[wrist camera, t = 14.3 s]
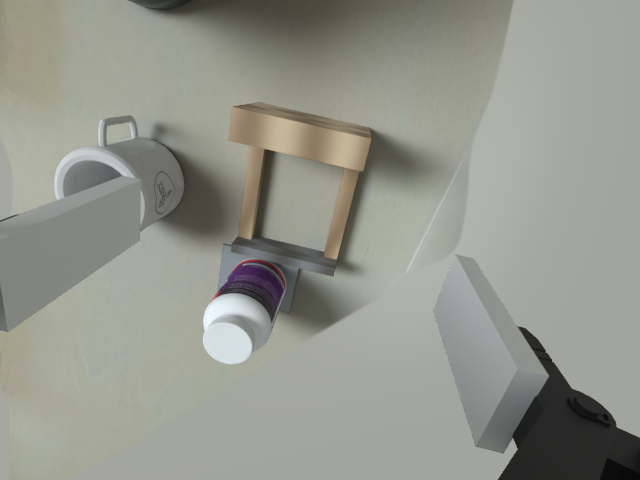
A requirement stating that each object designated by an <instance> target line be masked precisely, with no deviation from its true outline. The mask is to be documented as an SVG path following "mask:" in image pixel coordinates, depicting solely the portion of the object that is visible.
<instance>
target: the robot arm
mask: <svg viewBox="0 0 640 480" xmlns="http://www.w3.org/2000/svg"><path fill="white" fill-rule="evenodd" d="M129 1H131V2H134V3H136V4H139V5H142V6H145V7H148V8H154V9H169V8H174V7H178V6H180V5H183V4H185V3H187V2H188V1H190V0H129ZM140 206H141V180H139V179H135V178H131V177H126V176H121V177H118V178H115V179H113V180H110V181H108V182H105V183H102V184H100V185H97V186H94V187H92V188H89V189H86V190H84V191H81V192H78V193H76V194H73V195H70V196H68V197H65V198H62V199H60V200H57V201H54V202H52V203H49V204H46V205H44V206H41V207H38V208H36V209H33V210H30V211H28V212H25V213H22V214H19V215H14V216H11V217H8V218H6V219H3V220H1V221H0V330H1V331H5V332H9V331H10V330H11V329H13V328H14V327H16V326H17V325H19V324H20V323H22V322H23V321H24V320H26V319H27V318H29V317H30V316H32V315H33V314H35V313H36V312H37V311H39V310H40V309H42V308H43V307H45V306H46V305H47V304H49V303H50V302H52V301H53V300H55V299H56V298H58V297H59V296H60V295H62V294H63V293H65V292H66V291H68V290H69V289H71V288H72V287H73V286H75V285H76V284H78V283H79V282H81V281H82V280H84V279H85V278H86V277H88V276H89V275H91V274H92V273H94V272H95V271H96V270H98V269H99V268H101V267H102V266H104V265H105V264H107V263H108V262H109V261H111V260H112V259H114V258H115V257H117V256H118V255H120V254H121V253H122V252H124V251H125V250H127V249H128V248H130V247H131V246H132V245H134V244H135V243H137V242H138V241H140ZM433 312H434V315H435V318H436V321H437V325H438V328H439V331H440V334H441V338H442V341H443V344H444V347H445V350H446V353H447V356H448V360H449V363H450V366H451V370H452V373H453V376H454V379H455V382H456V385H457V389H458V392H459V395H460V399H461V402H462V405H463V408H464V411H465V415H466V418H467V421H468V424H469V427H470V430H471V434H472V437H473V440H474V443H475V446H476V447H480V448H484V449H488V450H492V451H496V452H500V453H504V452H505V450H506V448H507V446H508V445H509V443H510V441H511V440H512V438H513V439H514V441H515V443H516V445H517V448H518V450H517V451H516V453H515V454H514V456H513V458H512V459H511V460H510V462H509V464H508V465H507V467H506V468H505V470H504V471H503V473H502V474H501V476H500V477H499V479H498V480H640V438H639V437H637V436H635V435H632V434H630V433H628V432H626V431H623V430H621V429H619V428H617V427H616V421H615V420H614V419H613V417H612V415H611V414H610V413H609V412H608V411H607V410H606V409H605V408H604V407H603V406H602V405H601V404H600V403H598V402H597V401H595V400H594V399H593V398H591V397H589V396H587V395H585V394H583V393H582V392H579V391H576V390H573V389H572V388H571V387H570V385H569V384H568V382H567V381H566V379H565V378H564V377H563V375H562V374H561V372H560V371H559V369H558V368H557V367H556V365H555V364H554V362H552V359H551V358H550V356H549V355H548V353H545V349H544V348H543V346H542V345H541V343H540V342H539V340H538V339H537V338H536V337H534V336H533V335H532V334H531V333H530V332H529V331H528V330H527V329H525V328H522V327H518V326H517V325H516V324H515V322H514V321H513V319H512V317H511V316H510V314H509V313H508V311H507V310H506V308H505V307H504V305H503V303H502V302H501V301H500V299H499V297H498V296H497V294H496V292H495V291H494V290H493V288H492V286H491V285H490V283H489V282H488V280H487V278H486V277H485V276H484V274H483V272H482V271H481V269H480V267H479V266H478V264H477V263H476V261H475V260H474V259H473V258H468V257H464V256H460V255H455V256H454V259H453V261H452V264H451V267H450V269H449V272H448V274H447V277H446V279H445V282H444V285H443V287H442V289H441V292H440V294H439V297H438V300H437V302H436V304H435V308H434V310H433Z"/></svg>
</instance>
